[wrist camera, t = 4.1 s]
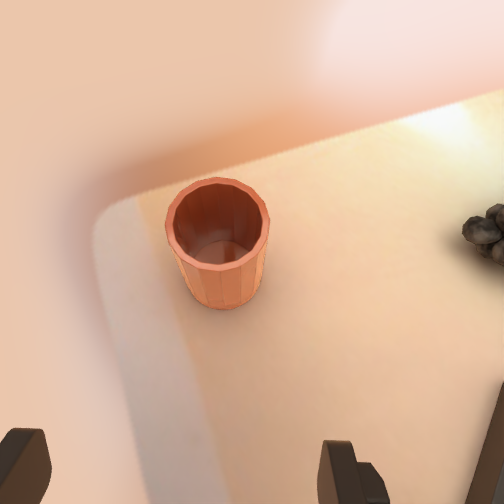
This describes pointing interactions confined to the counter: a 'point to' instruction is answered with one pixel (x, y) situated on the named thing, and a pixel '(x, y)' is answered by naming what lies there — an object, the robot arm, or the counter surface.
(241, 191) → the terracotta cup
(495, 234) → the fruit
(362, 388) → the counter surface
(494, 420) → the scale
